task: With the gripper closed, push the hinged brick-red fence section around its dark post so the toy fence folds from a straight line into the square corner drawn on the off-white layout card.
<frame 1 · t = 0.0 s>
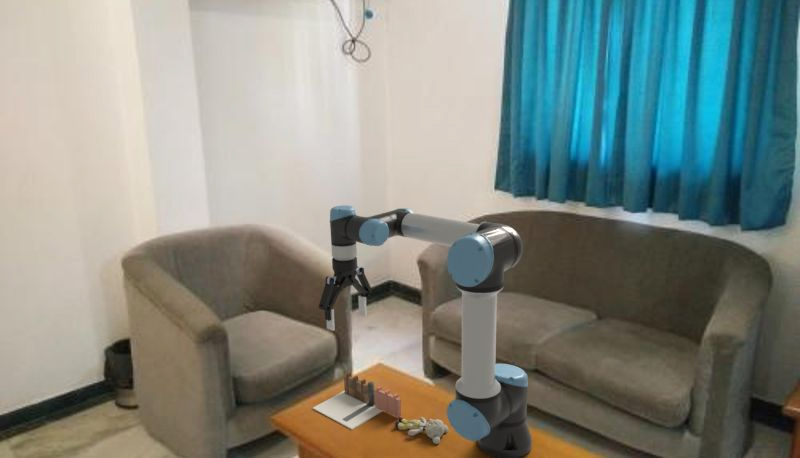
hand: (347, 322, 183), 28 cm above the table, fingers open, 13 cm apart
fence panel: (387, 401, 183), point 4 cm above the table, hinge at 0.0°
layout card: (352, 406, 188), on the table
toy: (420, 433, 174), on the table
fence fixed: (371, 405, 188), resting on layout card
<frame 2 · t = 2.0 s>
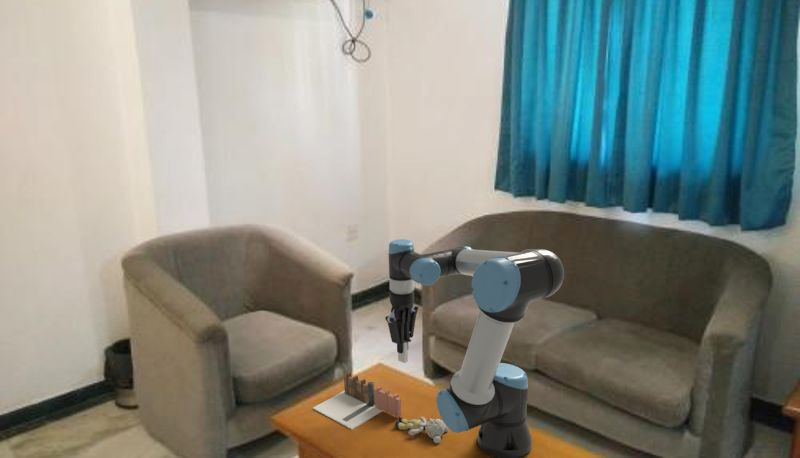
hand: (402, 360, 185), 15 cm above the table, fingers closed
nothing on the table moved.
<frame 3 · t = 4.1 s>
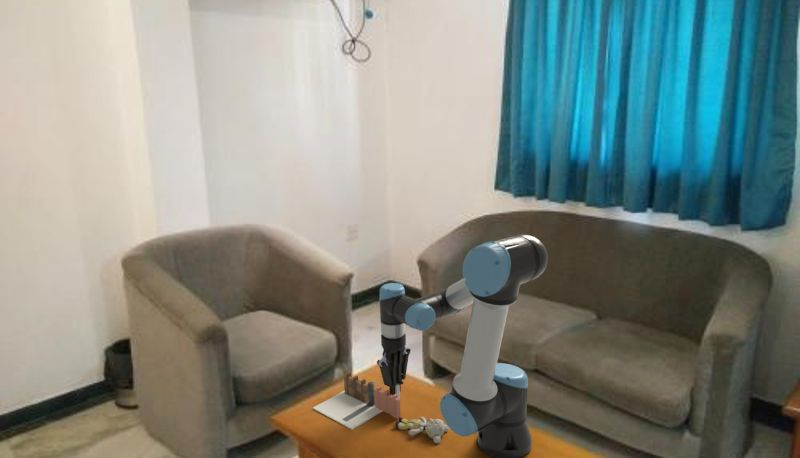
hand: (395, 402, 185), 2 cm above the table, fingers closed
fence panel: (387, 401, 183), point 4 cm above the table, hinge at -1.4°, touching gripper
everything else where it was.
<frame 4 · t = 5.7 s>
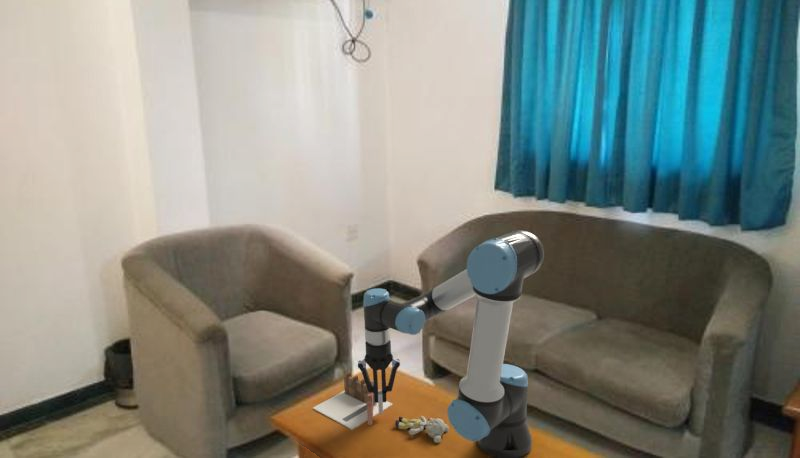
hand: (380, 411, 181), 2 cm above the table, fingers closed
fence panel: (370, 405, 180), point 4 cm above the table, hinge at -48.4°, touching gripper
everything else where it was.
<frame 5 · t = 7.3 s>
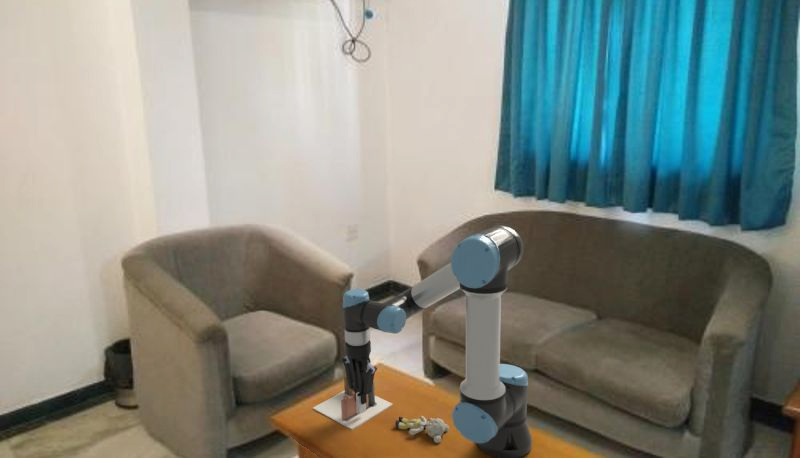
hand: (361, 411, 180), 2 cm above the table, fingers closed
fence panel: (354, 402, 182), point 4 cm above the table, hinge at -92.3°, touching gripper
everything else where it was.
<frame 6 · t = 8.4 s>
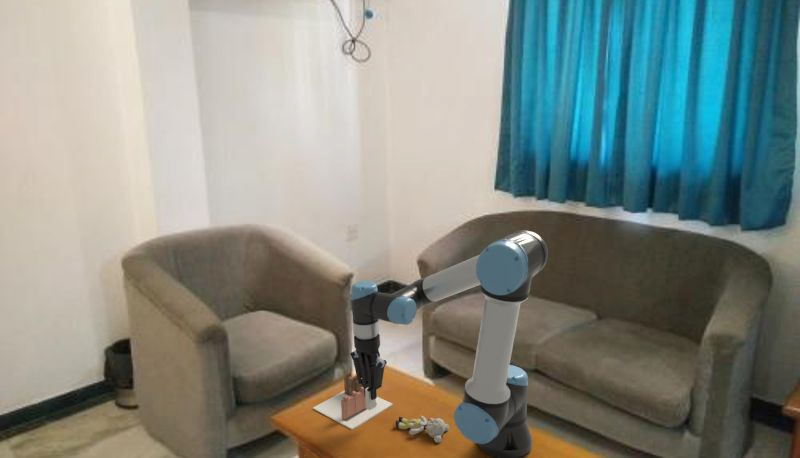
hand: (371, 407, 176), 6 cm above the table, fingers closed
fence panel: (354, 402, 182), point 4 cm above the table, hinge at -92.3°
everything else where it was.
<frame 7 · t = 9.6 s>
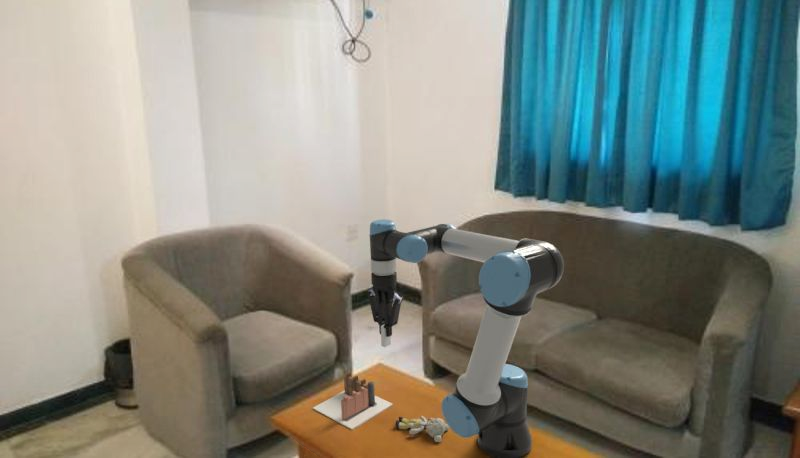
hand: (386, 344, 180), 22 cm above the table, fingers closed
nothing on the table moved.
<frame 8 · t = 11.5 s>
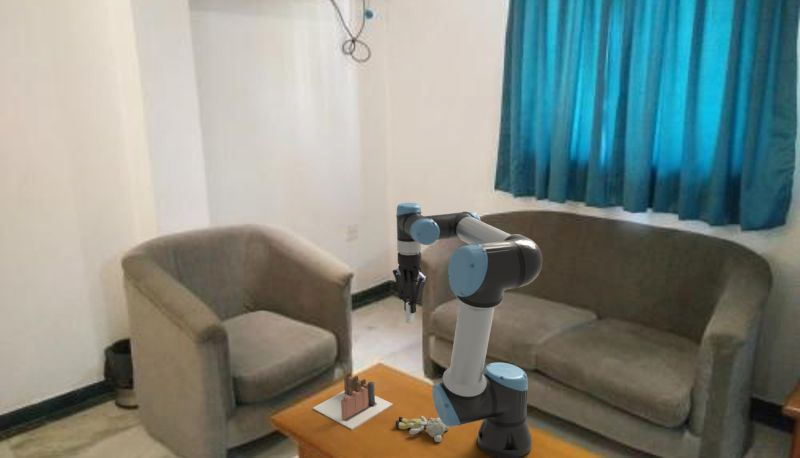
hand: (410, 321, 192), 24 cm above the table, fingers closed
nothing on the table moved.
at the end: fence panel at -92° (first picture: +0°) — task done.
